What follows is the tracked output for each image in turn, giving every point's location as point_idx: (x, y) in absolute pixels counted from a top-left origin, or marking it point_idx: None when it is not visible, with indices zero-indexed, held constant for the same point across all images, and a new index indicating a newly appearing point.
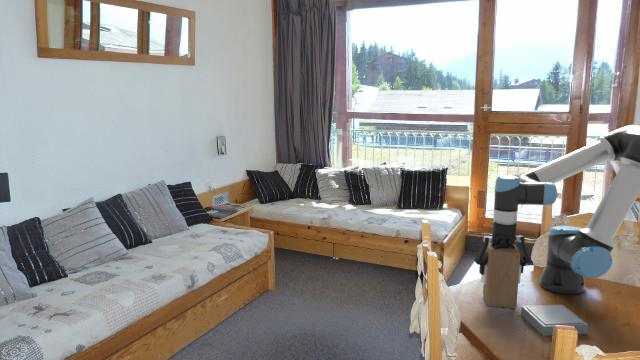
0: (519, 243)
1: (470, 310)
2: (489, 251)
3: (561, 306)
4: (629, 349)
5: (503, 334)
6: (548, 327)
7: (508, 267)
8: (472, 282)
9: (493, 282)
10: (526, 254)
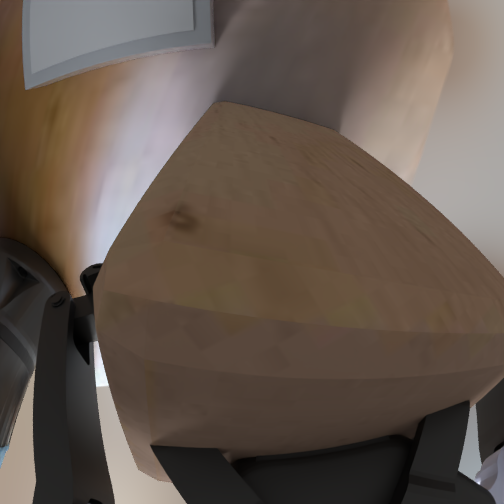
0: (96, 487)
1: (411, 112)
2: None
3: (35, 62)
4: None
5: None
6: None
7: (303, 171)
8: None
9: (365, 156)
10: (46, 355)
